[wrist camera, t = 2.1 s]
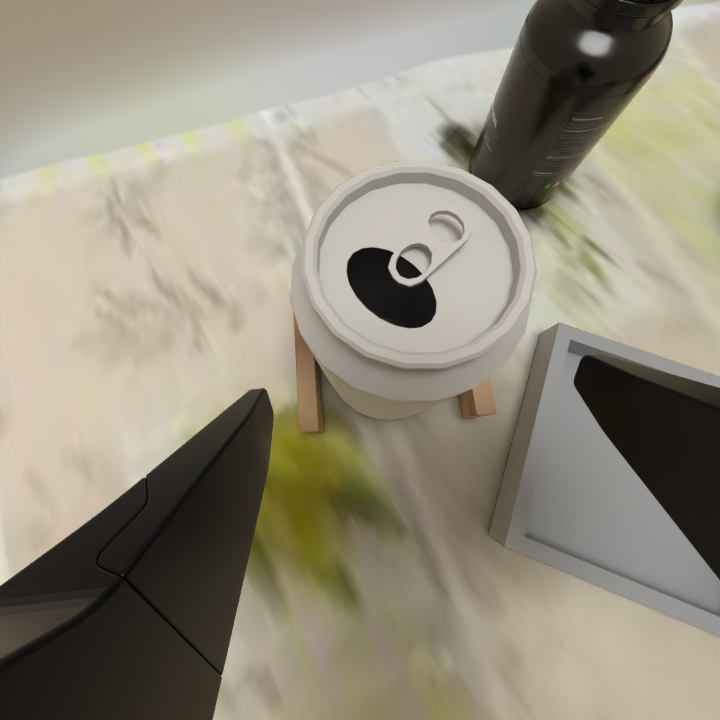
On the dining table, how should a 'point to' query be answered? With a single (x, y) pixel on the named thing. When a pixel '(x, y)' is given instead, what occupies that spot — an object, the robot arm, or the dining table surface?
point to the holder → (311, 393)
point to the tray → (595, 491)
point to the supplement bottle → (567, 90)
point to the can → (412, 286)
